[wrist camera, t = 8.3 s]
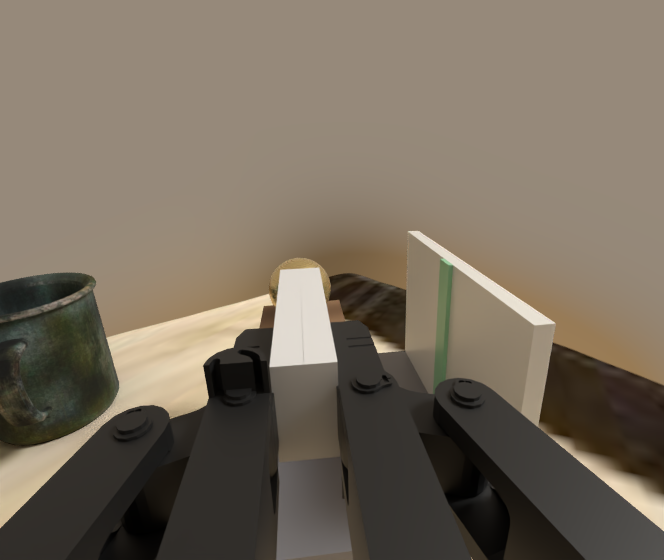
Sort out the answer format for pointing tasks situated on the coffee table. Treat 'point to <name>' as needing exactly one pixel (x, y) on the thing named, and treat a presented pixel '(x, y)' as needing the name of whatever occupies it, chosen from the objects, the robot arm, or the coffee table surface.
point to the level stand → (426, 380)
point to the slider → (269, 311)
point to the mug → (52, 358)
